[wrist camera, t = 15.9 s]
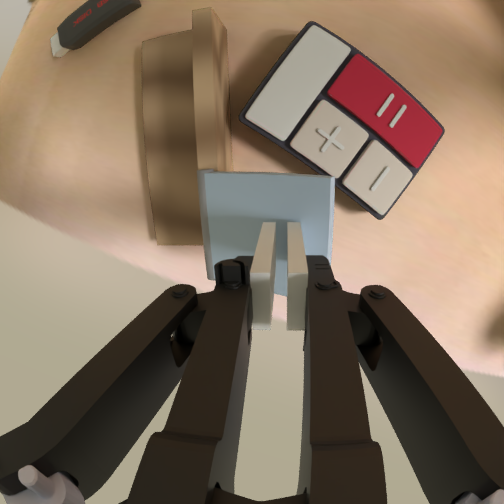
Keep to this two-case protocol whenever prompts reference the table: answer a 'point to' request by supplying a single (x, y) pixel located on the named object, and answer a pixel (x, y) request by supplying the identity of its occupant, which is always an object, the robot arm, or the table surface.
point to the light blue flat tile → (263, 214)
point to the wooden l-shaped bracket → (185, 122)
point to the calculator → (344, 118)
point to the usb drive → (89, 23)
